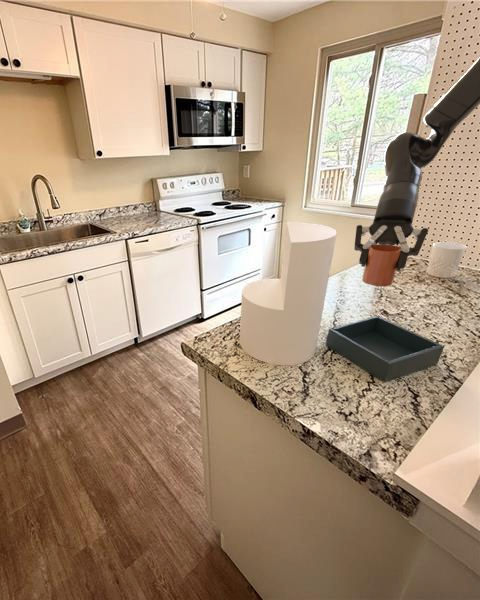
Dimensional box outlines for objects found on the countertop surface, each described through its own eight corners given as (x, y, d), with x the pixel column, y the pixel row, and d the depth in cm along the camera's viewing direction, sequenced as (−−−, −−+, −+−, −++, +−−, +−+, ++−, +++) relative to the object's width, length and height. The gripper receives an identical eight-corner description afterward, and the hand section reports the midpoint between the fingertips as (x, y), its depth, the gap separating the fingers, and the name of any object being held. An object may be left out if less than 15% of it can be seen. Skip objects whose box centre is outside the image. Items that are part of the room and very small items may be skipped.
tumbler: (375, 275, 79) (382, 242, 75) (398, 283, 74) (408, 248, 70) (356, 279, 78) (363, 247, 74) (378, 288, 72) (387, 253, 69)
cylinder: (311, 329, 80) (328, 221, 68) (320, 370, 66) (345, 242, 54) (241, 323, 86) (247, 222, 74) (236, 359, 72) (242, 242, 60)
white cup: (454, 280, 98) (465, 250, 94) (422, 275, 103) (431, 246, 99) (457, 273, 102) (468, 243, 98) (426, 268, 108) (435, 240, 104)
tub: (372, 331, 77) (377, 315, 75) (437, 364, 64) (444, 346, 62) (325, 345, 74) (328, 328, 72) (384, 382, 61) (389, 364, 59)
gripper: (361, 196, 77) (345, 256, 74) (439, 197, 68) (423, 264, 65) (360, 214, 83) (344, 270, 80) (431, 216, 74) (417, 278, 71)
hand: (380, 267), depth 73 cm, fingers closed on tumbler, 6 cm apart
